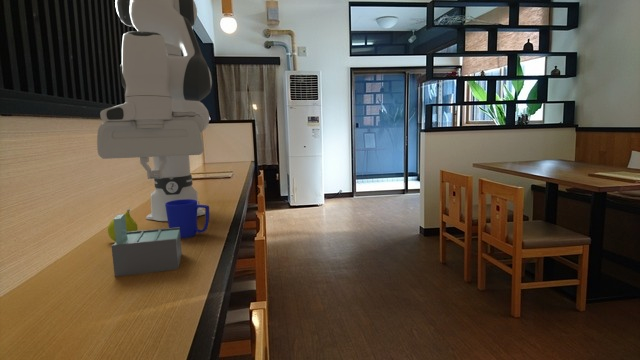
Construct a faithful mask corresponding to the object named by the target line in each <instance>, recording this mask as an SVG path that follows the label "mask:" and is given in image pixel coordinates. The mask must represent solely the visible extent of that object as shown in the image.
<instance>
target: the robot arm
mask: <svg viewBox="0 0 640 360" xmlns="http://www.w3.org/2000/svg"><path fill="white" fill-rule="evenodd" d="M114 3H115V10H116V13H117V15H118V17H119V20H120V21H121V23H123V24H124V25H126V26H128V27H132V28H135V30H136V31H135V30H134V31H133V30H131V31H127V32H125V33H123V35H122V41H121V64H120V65H119V71H120V81H121V86H122V87H123V89H124V92H125V93H124V101H125V102H124V103H121V104H118V105H115V106H112V107H108V108H105V109H103V110H100V113H99V114H100V115H99V116H100V119H101V121H103V122H102V123H101V124H100V125H99V127H98V129H97V136H96V137H97V138H96V145H97V147H96V149H97V154H98V156H99V157H100V158H101V159H102V160H107V159H110V160H112V159H131V158H132V159H133V158H135V159H136V158H139V163H140V164H141V166H142V167H143V168H144V170H145V171H146V175H147V176H146V177H147V179H148V180H151V179H152V180H153V179H154V180H153V183H154V188H155V189H154V190H153V192H151V194H150V210H151V211H150V212H151V213H149V214H148V215H146V220H154V221H158V222H168V218H167V213H166V207H165V203H167V202H169V201H174V200H182V199H193V200H196V201H197V205H200V201H199V197H198V195H199V194H198V191H197V190H196V189H195V188H194V187H193V176H192V174H191V165H190V163H191V162H190V156H200V155H201V154H203V153H204V141H203V137H202V136H203V135H202V132H204V131H205V130H206V129H207V128H208V126H209V122H210V113H209V110H208V109H207V107H206V106H205V104H204V103H203V102H201V101H202V100H203V99H205V98H206V97H207V96H208V95H209V94H210V93H211V91H212V85H213V80H212V73H211V71H210V68H209V66H208V64H207V61H206V59H205V58H204V56H203V53H202V51H201V48H200V45H199V42H198V40H197V36H196V34H195V32H194V29H193V27H194V25H195V22H196V21H197V20H196V19H197V16H198V9H197V5H196V3H195V0H115V2H114ZM182 55H183V56H182ZM151 157H152V159H153V166H154V169H152V168H151V167H150V165H149V164H148V163H149V162H150V158H151ZM203 215H206V210H204V208H198V209H197V217H199V216H203Z"/></svg>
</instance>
